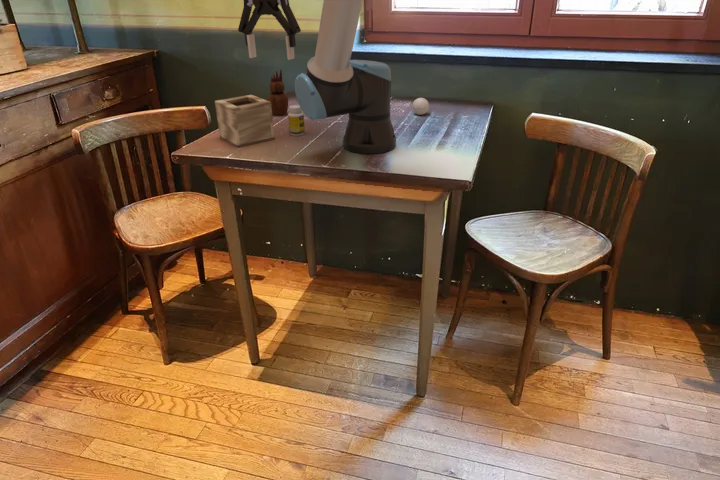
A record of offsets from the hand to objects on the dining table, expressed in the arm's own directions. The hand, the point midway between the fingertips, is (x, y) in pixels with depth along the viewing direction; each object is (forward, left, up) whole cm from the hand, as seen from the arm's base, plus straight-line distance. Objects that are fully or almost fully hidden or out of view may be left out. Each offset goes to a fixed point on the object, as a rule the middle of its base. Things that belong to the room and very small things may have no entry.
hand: (271, 58), depth 153 cm
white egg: (-18, -44, -21) cm, 53 cm away
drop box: (-3, +13, -21) cm, 25 cm away
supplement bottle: (-9, -1, -21) cm, 23 cm away
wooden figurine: (+14, -8, -21) cm, 27 cm away
